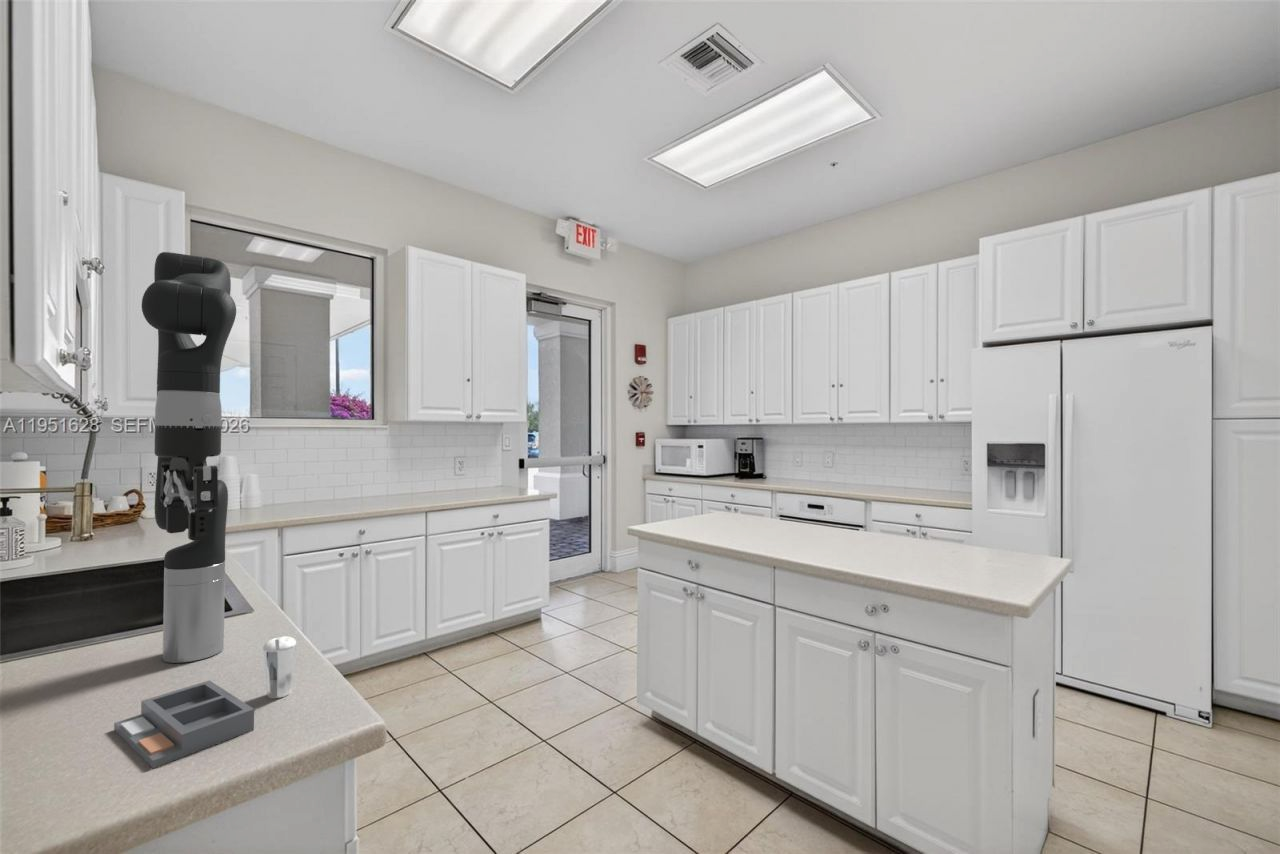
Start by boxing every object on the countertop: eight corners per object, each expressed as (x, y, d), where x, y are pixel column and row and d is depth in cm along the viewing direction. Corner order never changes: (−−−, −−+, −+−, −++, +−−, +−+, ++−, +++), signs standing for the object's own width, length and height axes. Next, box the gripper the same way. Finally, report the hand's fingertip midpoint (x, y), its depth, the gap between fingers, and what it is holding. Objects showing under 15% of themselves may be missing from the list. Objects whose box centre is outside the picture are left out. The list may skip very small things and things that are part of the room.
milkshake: (258, 705, 89) (259, 641, 90) (265, 690, 94) (266, 630, 94) (292, 700, 91) (293, 637, 91) (297, 686, 96) (298, 626, 96)
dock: (114, 729, 82) (114, 708, 82) (209, 699, 91) (209, 680, 91) (152, 768, 73) (153, 744, 73) (253, 729, 82) (254, 709, 82)
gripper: (139, 422, 83) (137, 534, 83) (175, 423, 75) (172, 546, 75) (200, 423, 89) (199, 527, 89) (240, 424, 81) (238, 538, 81)
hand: (187, 535), depth 82 cm, fingers open, 8 cm apart
